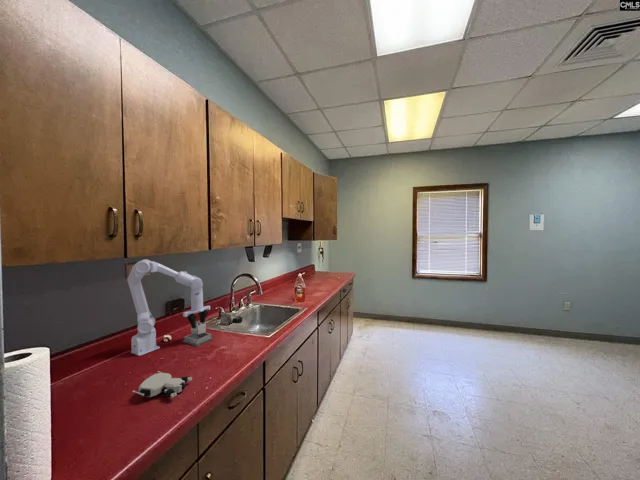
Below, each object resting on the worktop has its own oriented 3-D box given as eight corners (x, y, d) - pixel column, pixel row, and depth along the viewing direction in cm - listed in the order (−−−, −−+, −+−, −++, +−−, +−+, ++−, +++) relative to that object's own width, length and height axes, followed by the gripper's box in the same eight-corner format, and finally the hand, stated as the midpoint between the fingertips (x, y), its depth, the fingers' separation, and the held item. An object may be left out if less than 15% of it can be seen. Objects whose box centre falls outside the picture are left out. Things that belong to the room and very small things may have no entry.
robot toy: (194, 384, 95) (156, 380, 96) (194, 372, 95) (156, 369, 96) (173, 406, 83) (130, 402, 84) (174, 393, 83) (130, 388, 83)
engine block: (198, 334, 129) (198, 324, 129) (191, 332, 132) (190, 323, 132) (206, 331, 133) (205, 322, 133) (198, 329, 136) (198, 320, 136)
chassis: (196, 346, 126) (196, 341, 126) (182, 342, 132) (182, 336, 132) (213, 339, 134) (213, 334, 134) (199, 335, 140) (199, 330, 140)
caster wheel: (243, 325, 163) (234, 328, 153) (228, 320, 166) (219, 322, 156) (246, 314, 163) (237, 317, 154) (231, 310, 166) (221, 312, 157)
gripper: (188, 305, 124) (189, 332, 125) (213, 298, 137) (214, 323, 137) (180, 303, 128) (181, 330, 128) (205, 297, 141) (206, 321, 141)
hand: (197, 326), depth 133 cm, fingers closed on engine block, 4 cm apart
